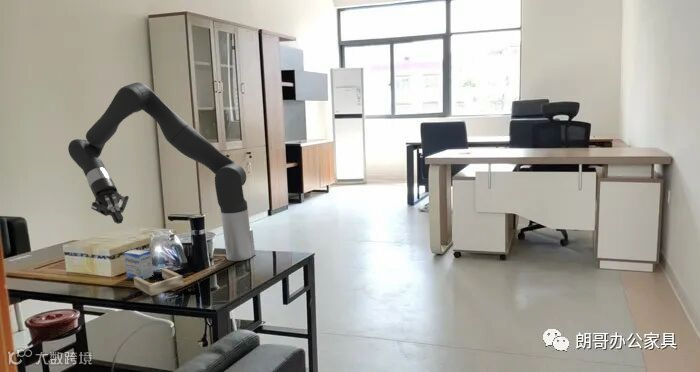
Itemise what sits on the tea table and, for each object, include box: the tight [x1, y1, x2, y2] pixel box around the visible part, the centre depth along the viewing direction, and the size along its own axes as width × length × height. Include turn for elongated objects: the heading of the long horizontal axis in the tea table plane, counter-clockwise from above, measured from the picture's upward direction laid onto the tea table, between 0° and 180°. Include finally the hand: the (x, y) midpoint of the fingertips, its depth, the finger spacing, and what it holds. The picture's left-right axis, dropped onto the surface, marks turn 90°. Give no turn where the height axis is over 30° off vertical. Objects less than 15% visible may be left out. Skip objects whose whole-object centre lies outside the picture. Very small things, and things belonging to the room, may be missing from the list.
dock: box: [132, 267, 184, 297], centre depth 165 cm, size 10×12×3 cm
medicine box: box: [123, 249, 154, 280], centre depth 175 cm, size 8×4×9 cm, turn 62°
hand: (120, 222), depth 180 cm, fingers closed
